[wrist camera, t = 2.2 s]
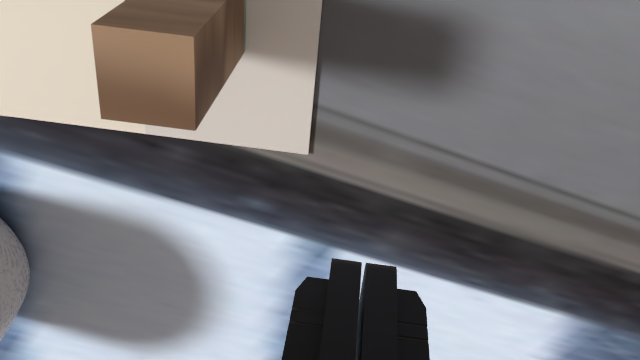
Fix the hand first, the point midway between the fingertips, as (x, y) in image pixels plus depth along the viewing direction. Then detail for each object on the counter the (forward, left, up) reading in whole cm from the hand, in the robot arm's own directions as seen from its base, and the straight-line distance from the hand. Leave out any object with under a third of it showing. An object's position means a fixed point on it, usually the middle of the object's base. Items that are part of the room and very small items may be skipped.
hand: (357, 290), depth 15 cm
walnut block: (0, -9, -21) cm, 23 cm away
